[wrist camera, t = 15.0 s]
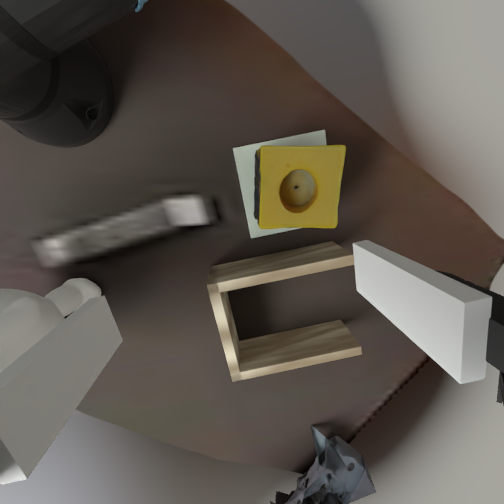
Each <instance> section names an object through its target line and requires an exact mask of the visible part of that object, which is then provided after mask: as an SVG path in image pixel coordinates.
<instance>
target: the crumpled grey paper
mask: <svg viewBox="0 0 504 504" xmlns="http://www.w3.org/2000/svg"><path fill="white" fill-rule="evenodd" d="M311 429H312V434H313V438H314V443H315V447H316V452H317V456H316V459H315V462H314V464H313V465H312V466H311V468H310V469H309V471H307V472H306V473H304V474H303V476H302V477H299V478H298V480H297V485H298V486H297V489H296V490H295V491H292V492H291V493H290V494H289V495H288V494H285V493H281V492H276V504H349V503H351V502H353V501H356V500H358V499H360V498H363V497H365V496H368V495H370V494H373V493H375V492H376V490H375V488H374V485H373V483H372V480H371V477H370V475H369V472H368V470H367V467H366V465H365V461H364V459H363V456H362V455H361V454H360V453H359V452H358V451H357V450H355V449H354V448H353V447H351V446H350V445H349V444H348V443H347V442H345V441H344V440H342V439H341V438H340V437H338V436H336V435H335V436H334V437H332V438H331V439H329V440H328V439H327V438H326V437H324V436H323V435H322V434H321V433H320V432H319V431H318V430H317V429H315V428H314V427H313V426H312V425H311ZM306 474H307V475H306ZM270 503H271V504H275V503H273V502H270Z"/></svg>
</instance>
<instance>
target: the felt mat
mask: <svg viewBox="0 0 504 504" xmlns="http://www.w3.org/2000/svg"><path fill="white" fill-rule="evenodd" d="M265 145H273V146H320V145H327V144H326V134H325V130H320V131H315V132H311V133H306V134H301V135H296V136H291V137H286V138H281V139H276V140H271V141H266V142H261V143H256V144H251V145H246V146H241V147H237V148H233V152H234V157H235V162H236V167H237V172H238V177H239V182H240V187H241V192H242V197H243V202H244V206H245V211H246V216H247V221H248V226H249V231H250V236H251V238H256V237H261V236H265V235H270V234H275V233H280V232H285V231H289V230H294V229H299V228H278V229H260V228H259V226H258V224H257V222H258V220H256V219H255V218H254V214H253V213H254V189H255V186H254V177H255V173H254V172H255V157H254V156H255V153H256V150H258V149H259V148H260V146H265Z"/></svg>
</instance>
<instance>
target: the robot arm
mask: <svg viewBox="0 0 504 504" xmlns="http://www.w3.org/2000/svg"><path fill="white" fill-rule="evenodd" d="M147 1H148V0H0V120H2V121H4V122H5V123H7V124H8V125H10V126H11V127H12V128H13V129H15V130H16V131H18V132H19V133H21V134H22V135H24V136H26V137H28V138H30V139H32V140H34V141H37V142H39V143H43V144H47V145H52V146H57V147H77V146H81V145H84V144H86V143H89V142H90V141H92V140H94V139H95V138H96V137H98V136H99V135H100V134H101V133H102V131H103V130H104V129H105V127H106V126H107V124H108V122H109V119H110V117H111V114H112V109H113V100H114V95H113V86H112V81H111V78H110V75H109V72H108V69H107V67H106V65H105V63H104V61H103V60H102V58H101V56H100V55H99V53H98V52H97V51H96V49H95V48H94V47H93V46H92V45H91V44H90V43H89V42H88V41H87V40H86V39H87V38H89V37H90V36H92V35H94V34H95V33H97V32H99V31H100V30H102V29H104V28H106V27H107V26H109V25H111V24H112V23H114V22H116V21H117V20H119V19H121V18H122V17H124V16H126V15H128V14H129V13H131V12H133V11H135V12H138V11H140V10H141V9H142V7H143V4H144V3H146V2H147ZM353 252H354V263H355V275H356V287H357V291H358V292H359V293H360V294H361V295H362V296H364V297H365V298H366V299H367V300H368V301H369V302H370V303H371V304H372V305H373V306H375V307H376V308H377V309H378V310H379V311H380V312H381V313H382V314H383V315H385V316H386V317H387V318H388V319H389V320H390V321H391V322H392V323H393V324H395V325H396V326H397V327H398V328H399V329H400V330H401V331H402V332H403V333H404V334H406V335H407V336H408V337H409V338H410V339H411V340H412V341H413V342H414V343H416V344H417V345H418V346H419V347H420V348H421V349H422V350H423V351H424V352H426V353H427V354H428V355H429V356H430V357H431V358H432V359H433V360H434V361H436V362H437V363H438V364H439V365H440V366H441V367H442V368H443V369H444V370H445V371H447V372H448V373H449V374H450V375H451V376H452V377H453V378H454V379H455V380H457V381H458V382H459V383H460V384H463V383H468V382H472V381H477V380H482V379H485V376H486V365H487V362H488V363H490V364H491V365H493V366H494V367H496V368H497V369H498V370H500V375H499V385H498V394H497V402H499V403H502V401H503V404H504V297H503V296H501V295H499V294H497V293H494V292H492V291H490V290H487V289H485V288H483V287H481V286H478V285H476V286H475V284H474V283H471V282H469V281H465V280H464V279H462V278H460V277H458V276H455V275H453V274H450V273H445V272H441V271H437V270H435V271H434V270H432V269H430V268H427V267H425V266H423V265H421V264H419V263H416V262H414V261H412V260H410V259H408V258H406V257H403V256H401V255H399V254H397V253H395V252H392V251H390V250H388V249H386V248H384V247H381V246H379V245H377V244H375V243H373V242H370V241H368V240H365V241H360V242H355V243H353ZM122 341H123V340H122V337H121V335H120V332H119V330H118V328H117V325H116V323H115V320H114V318H113V315H112V313H111V310H110V308H109V305H108V303H107V300H106V298H105V295H104V296H100V297H95V298H90V299H89V300H88V301H86V302H85V303H84V304H83V305H82V306H80V307H79V308H78V309H77V310H75V311H74V312H73V313H72V314H71V315H69V316H68V317H67V318H66V319H65V320H63V321H62V322H61V323H60V324H59V325H57V326H56V327H55V328H54V329H53V330H51V331H50V332H49V333H48V334H47V335H45V336H44V337H43V338H42V339H40V340H39V341H38V342H37V343H36V344H34V345H33V346H32V347H31V348H30V349H28V350H27V351H26V352H25V353H24V354H22V355H21V356H20V357H19V358H18V359H16V360H15V361H14V362H13V363H12V364H10V365H9V366H8V367H7V368H5V369H4V370H3V371H2V372H1V373H0V483H1V484H7V483H11V482H15V481H20V480H25V479H27V478H28V477H29V476H30V474H31V473H32V471H33V470H34V468H35V467H36V466H37V464H38V463H39V461H40V460H41V458H42V457H43V455H44V454H45V452H46V451H47V450H48V448H49V447H50V445H51V444H52V442H53V441H54V439H55V438H56V436H57V435H58V434H59V432H60V431H61V429H62V428H63V426H64V425H65V423H66V422H67V421H68V419H69V418H70V416H71V415H72V413H73V412H74V410H75V409H76V407H77V406H78V405H79V403H80V402H81V400H82V399H83V397H84V396H85V394H86V393H87V392H88V390H89V389H90V387H91V386H92V384H93V383H94V381H95V380H96V378H97V377H98V376H99V374H100V373H101V371H102V370H103V368H104V367H105V365H106V364H107V363H108V361H109V360H110V358H111V357H112V355H113V354H114V352H115V351H116V349H117V348H118V347H119V345H120V344H121V342H122Z"/></svg>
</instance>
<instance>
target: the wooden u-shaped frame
mask: <svg viewBox="0 0 504 504" xmlns="http://www.w3.org/2000/svg"><path fill="white" fill-rule="evenodd" d="M349 265H354V255H353V254H352V253H350V252H349V251H347V250H345V249H344V248H342V247H341V246H339V245H337V244H336V243H334V242H333V241H331V242H326V243H321V244H316V245H311V246H307V247H302V248H297V249H292V250H287V251H283V252H278V253H273V254H268V255H263V256H259V257H254V258H249V259H244V260H239V261H235V262H230V263H225V264H220V265H215V266H211V270H210V274H209V278H208V282H207V288H208V292H209V296H210V299H211V303H212V307H213V311H214V314H215V318H216V322H217V325H218V329H219V333H220V337H221V340H222V344H223V348H224V351H225V355H226V359H227V363H228V366H229V370H230V374H231V377H232V381H233V382H235V381H240V380H244V379H249V378H254V377H258V376H263V375H268V374H272V373H277V372H282V371H286V370H291V369H296V368H300V367H305V366H310V365H314V364H319V363H324V362H328V361H333V360H338V359H342V358H347V357H352V356H356V355H361V354H362V352H361V346H360V345H359V343H358V342H357V341H356V339H355V338H354V337H353V335H352V334H351V333H350V331H349V330H348V329H347V327H346V326H345V325H344V323H343V322H342V321H341V320H336V321H331V322H326V323H322V324H317V325H312V326H308V327H303V328H298V329H293V330H289V331H284V332H279V333H275V334H270V335H265V336H260V337H256V338H251V339H246V340H242V341H239V339H238V335H237V331H236V327H235V323H234V319H233V314H232V310H231V306H230V302H229V298H228V294H227V291H230V290H235V289H240V288H244V287H249V286H254V285H259V284H263V283H268V282H273V281H278V280H283V279H287V278H292V277H297V276H302V275H306V274H311V273H316V272H321V271H326V270H330V269H335V268H340V267H345V266H349Z"/></svg>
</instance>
